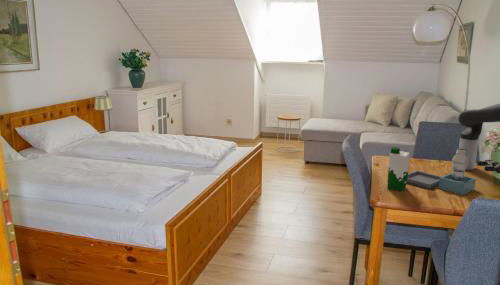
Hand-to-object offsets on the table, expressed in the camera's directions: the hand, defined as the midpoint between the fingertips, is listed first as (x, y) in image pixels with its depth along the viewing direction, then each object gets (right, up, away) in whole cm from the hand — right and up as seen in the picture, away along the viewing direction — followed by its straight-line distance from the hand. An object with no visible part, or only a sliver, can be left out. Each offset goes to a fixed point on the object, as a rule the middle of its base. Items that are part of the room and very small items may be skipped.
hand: (481, 165), depth 207 cm
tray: (-23, -9, +14) cm, 28 cm away
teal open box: (-10, -11, +4) cm, 16 cm away
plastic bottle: (-10, -12, +4) cm, 16 cm away
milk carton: (-39, -11, +5) cm, 41 cm away
